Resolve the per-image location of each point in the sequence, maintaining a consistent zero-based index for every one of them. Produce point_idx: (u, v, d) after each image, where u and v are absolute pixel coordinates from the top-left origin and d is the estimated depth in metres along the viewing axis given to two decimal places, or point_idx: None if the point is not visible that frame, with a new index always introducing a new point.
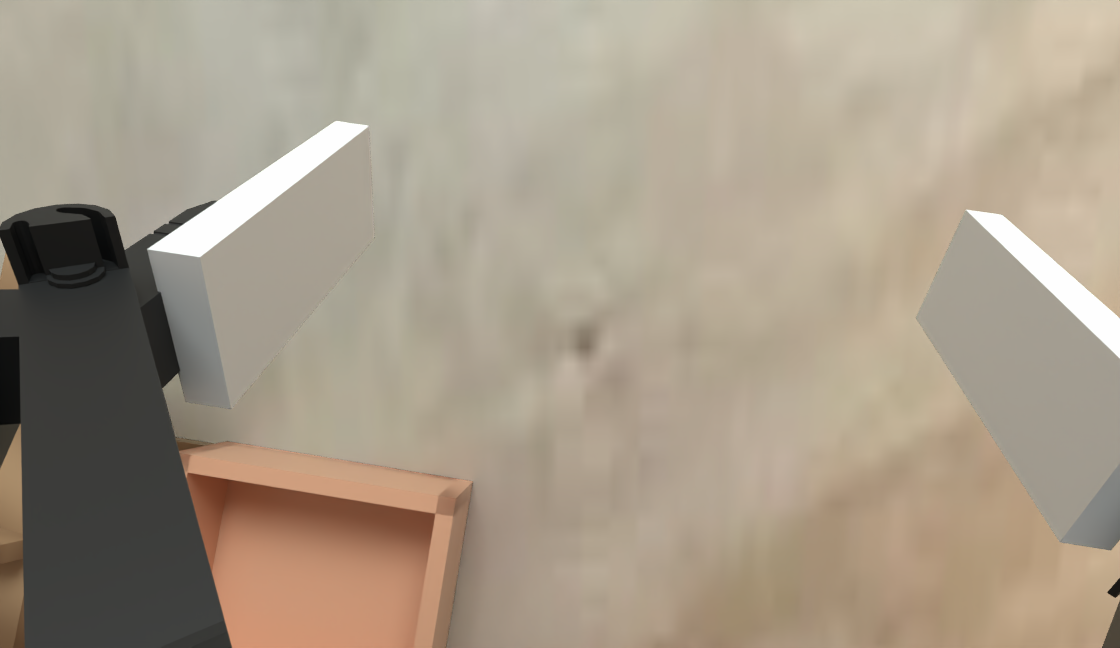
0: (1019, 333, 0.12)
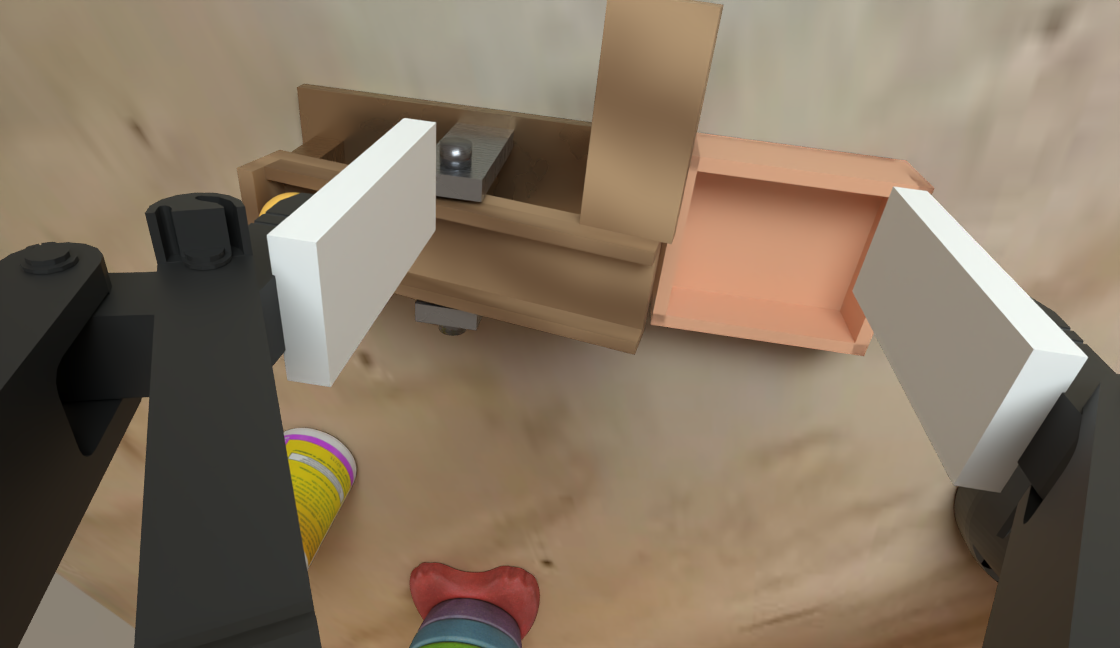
0: (929, 297, 0.13)
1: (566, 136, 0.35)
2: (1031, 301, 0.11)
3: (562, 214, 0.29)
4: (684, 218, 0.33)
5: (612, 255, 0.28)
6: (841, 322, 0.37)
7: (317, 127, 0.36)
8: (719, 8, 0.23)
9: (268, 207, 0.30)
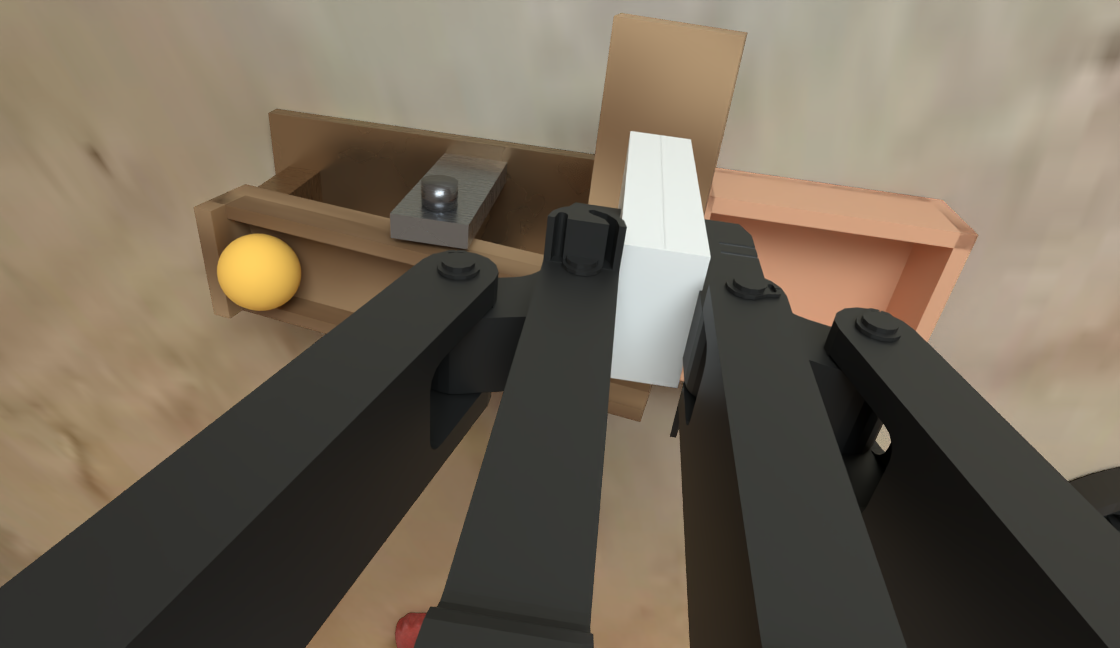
0: None
1: (565, 169, 0.31)
2: (701, 218, 0.12)
3: None
4: None
5: None
6: None
7: (291, 156, 0.33)
8: (743, 37, 0.20)
9: (228, 252, 0.27)
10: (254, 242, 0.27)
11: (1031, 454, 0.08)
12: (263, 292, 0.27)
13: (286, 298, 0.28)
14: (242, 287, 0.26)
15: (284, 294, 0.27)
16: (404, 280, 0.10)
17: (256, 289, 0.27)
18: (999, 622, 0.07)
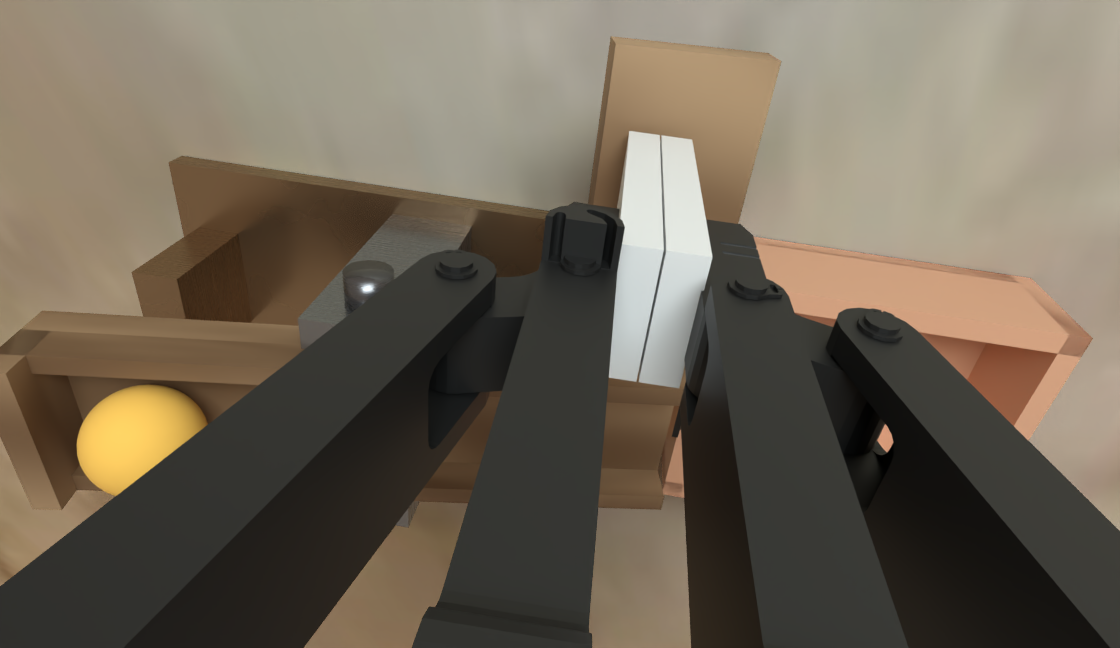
0: None
1: None
2: (703, 219, 0.12)
3: None
4: None
5: (633, 401, 0.20)
6: None
7: (201, 215, 0.26)
8: (779, 62, 0.16)
9: (123, 434, 0.18)
10: (145, 401, 0.18)
11: (1033, 455, 0.08)
12: None
13: None
14: None
15: None
16: (402, 280, 0.10)
17: None
18: (1001, 623, 0.07)
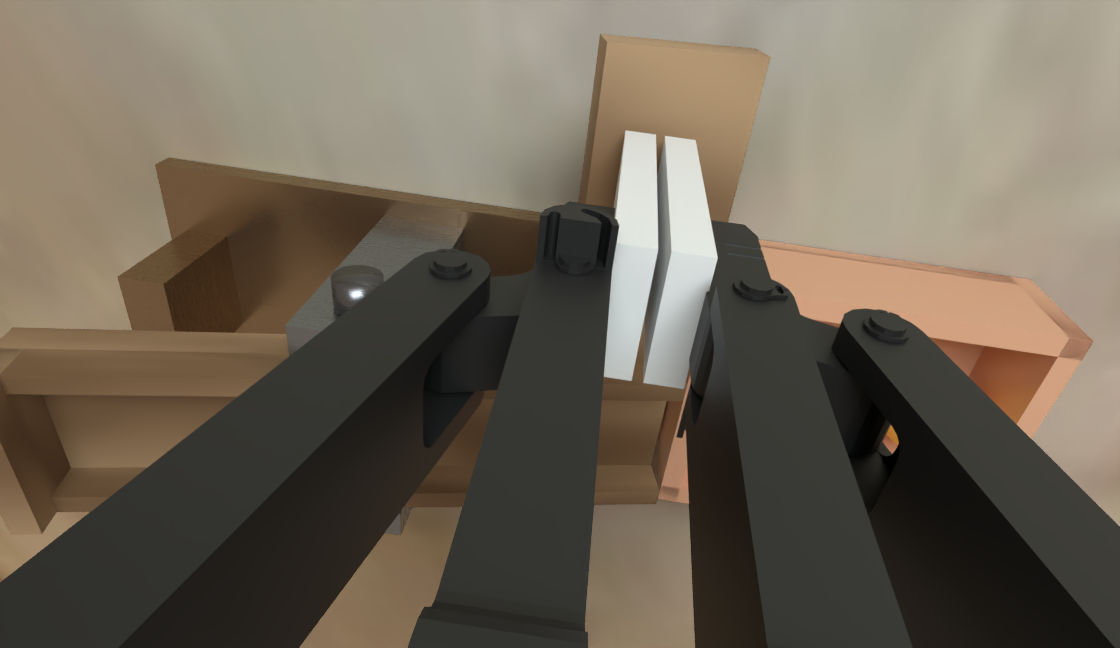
0: (659, 226, 0.14)
1: None
2: (707, 219, 0.12)
3: None
4: None
5: (629, 398, 0.20)
6: None
7: (189, 218, 0.25)
8: (768, 58, 0.16)
9: None
10: None
11: (1039, 456, 0.08)
12: None
13: None
14: None
15: None
16: (396, 279, 0.09)
17: None
18: (1007, 624, 0.07)
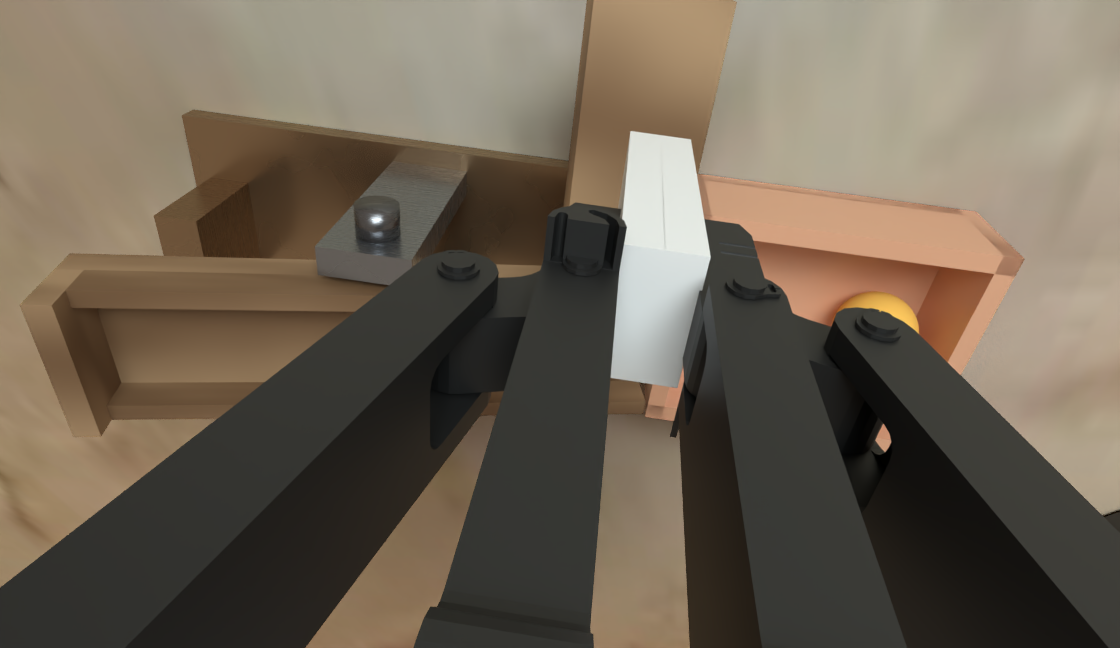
0: None
1: (535, 180, 0.27)
2: (701, 218, 0.12)
3: (530, 269, 0.23)
4: None
5: None
6: None
7: (213, 166, 0.28)
8: (735, 3, 0.18)
9: (856, 297, 0.27)
10: (883, 301, 0.26)
11: (1031, 454, 0.08)
12: None
13: None
14: None
15: None
16: (404, 280, 0.10)
17: None
18: (999, 623, 0.07)
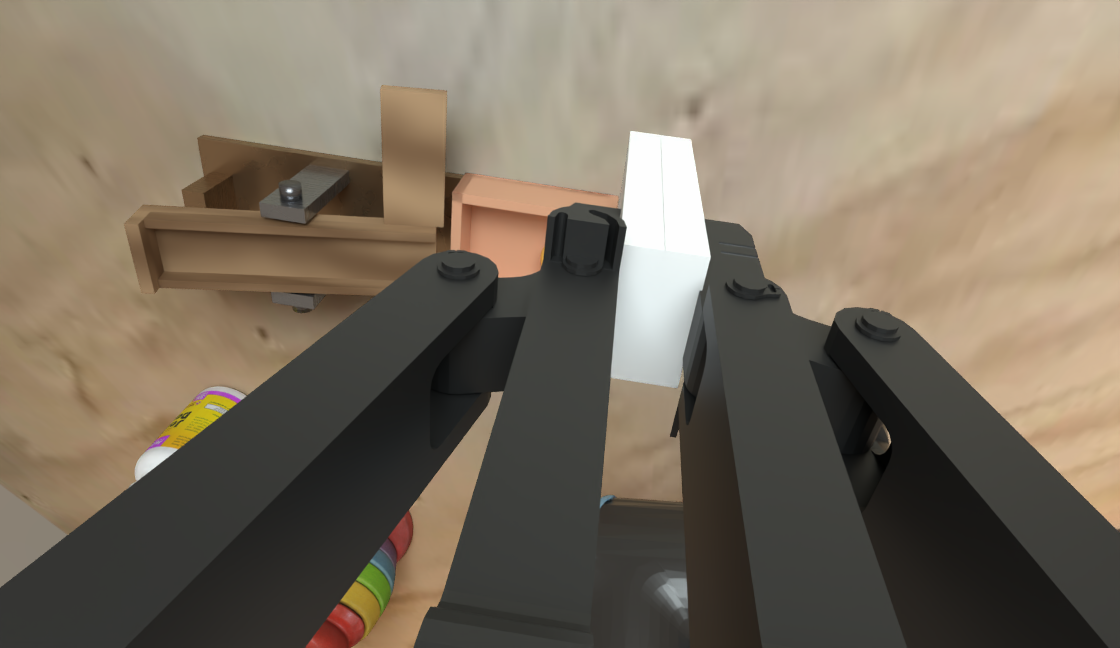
0: None
1: None
2: (701, 218, 0.12)
3: (370, 219, 0.46)
4: (459, 234, 0.48)
5: (410, 240, 0.45)
6: None
7: (213, 165, 0.51)
8: (446, 95, 0.42)
9: None
10: None
11: (1031, 454, 0.08)
12: (542, 262, 0.49)
13: None
14: None
15: None
16: (404, 280, 0.10)
17: (541, 259, 0.49)
18: (1000, 623, 0.07)
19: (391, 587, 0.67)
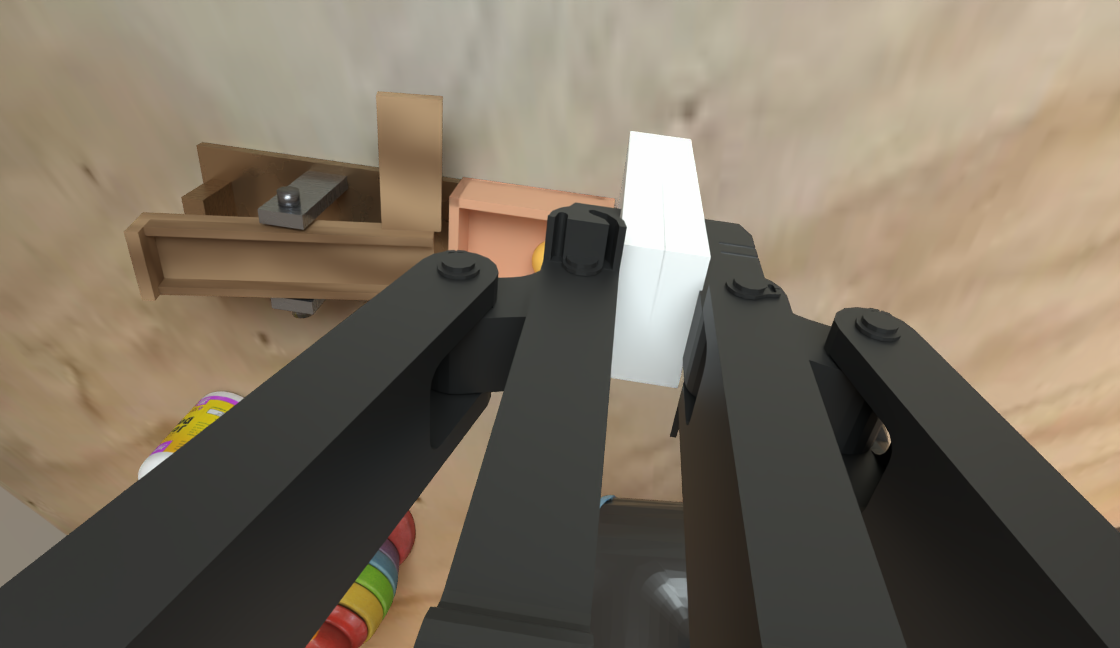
0: None
1: None
2: (701, 218, 0.12)
3: (368, 224, 0.46)
4: (456, 238, 0.48)
5: (408, 244, 0.46)
6: None
7: (212, 172, 0.51)
8: (441, 100, 0.42)
9: None
10: None
11: (1031, 454, 0.08)
12: (532, 262, 0.50)
13: None
14: None
15: (537, 271, 0.49)
16: (404, 280, 0.10)
17: None
18: (999, 623, 0.07)
19: (394, 590, 0.67)
